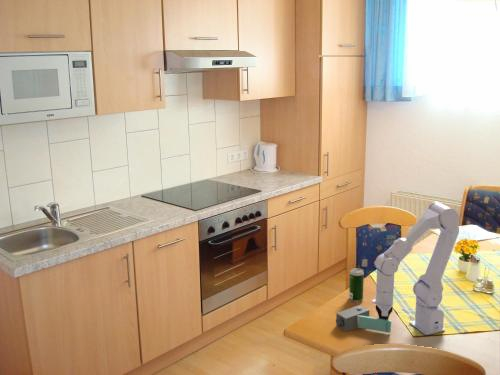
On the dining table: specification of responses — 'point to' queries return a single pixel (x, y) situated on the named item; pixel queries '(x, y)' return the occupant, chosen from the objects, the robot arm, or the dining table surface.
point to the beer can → (356, 285)
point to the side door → (374, 323)
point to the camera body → (350, 317)
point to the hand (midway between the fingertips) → (383, 325)
